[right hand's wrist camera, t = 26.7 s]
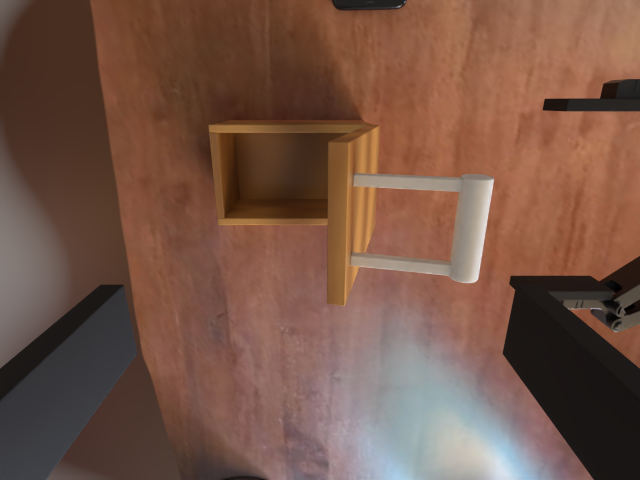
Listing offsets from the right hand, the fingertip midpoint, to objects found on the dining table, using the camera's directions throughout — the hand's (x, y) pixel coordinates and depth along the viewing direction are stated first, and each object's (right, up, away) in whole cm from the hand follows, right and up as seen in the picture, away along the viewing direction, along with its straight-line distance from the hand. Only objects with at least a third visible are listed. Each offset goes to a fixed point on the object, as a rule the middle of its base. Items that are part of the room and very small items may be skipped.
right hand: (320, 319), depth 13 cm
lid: (+2, +6, +17) cm, 18 cm away
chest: (-3, +12, +33) cm, 35 cm away
